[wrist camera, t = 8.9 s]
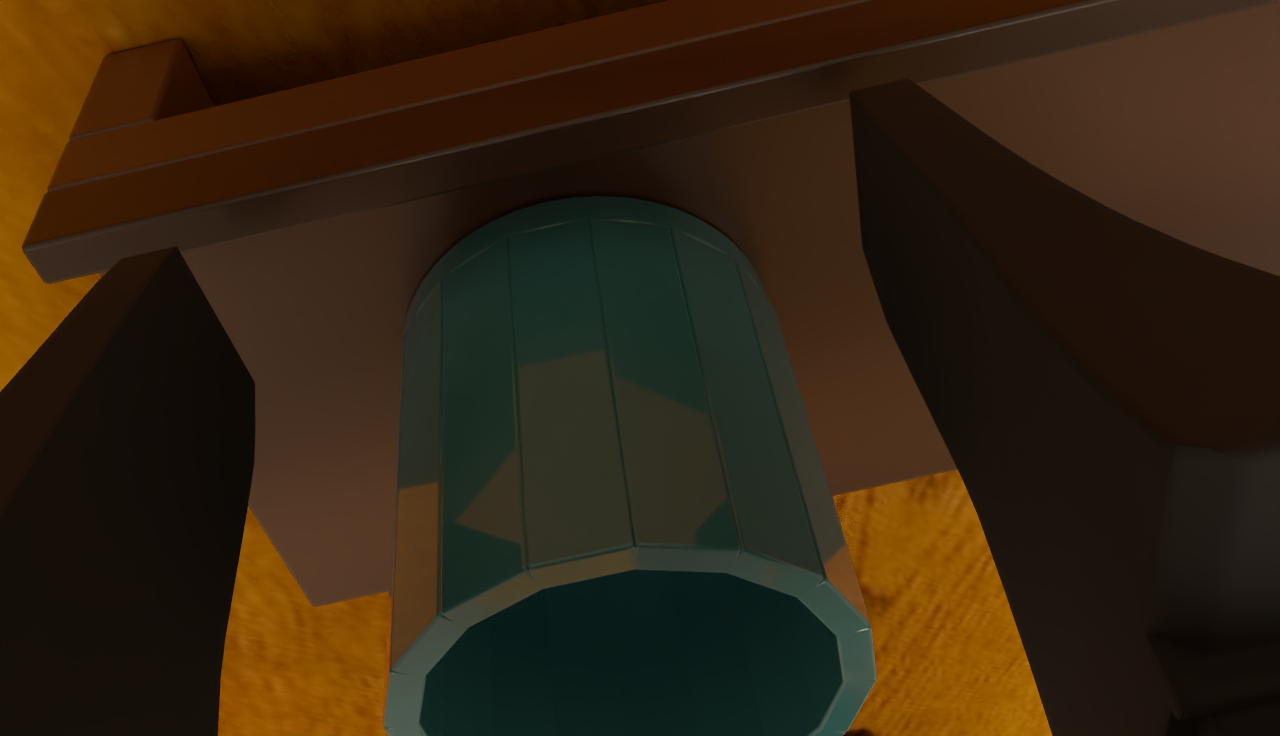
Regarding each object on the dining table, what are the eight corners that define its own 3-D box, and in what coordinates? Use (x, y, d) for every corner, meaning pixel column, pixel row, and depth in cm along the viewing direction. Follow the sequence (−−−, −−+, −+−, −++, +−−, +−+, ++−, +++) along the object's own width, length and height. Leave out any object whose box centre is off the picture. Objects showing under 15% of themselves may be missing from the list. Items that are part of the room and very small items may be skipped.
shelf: (1249, 260, 23) (1390, 438, 20) (327, 462, 24) (306, 668, 20) (1347, -242, 17) (1578, -111, 13) (102, 54, 18) (17, 249, 14)
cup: (789, 432, 20) (888, 773, 15) (463, 503, 20) (467, 860, 15) (746, 153, 16) (859, 497, 12) (346, 244, 16) (307, 614, 12)
